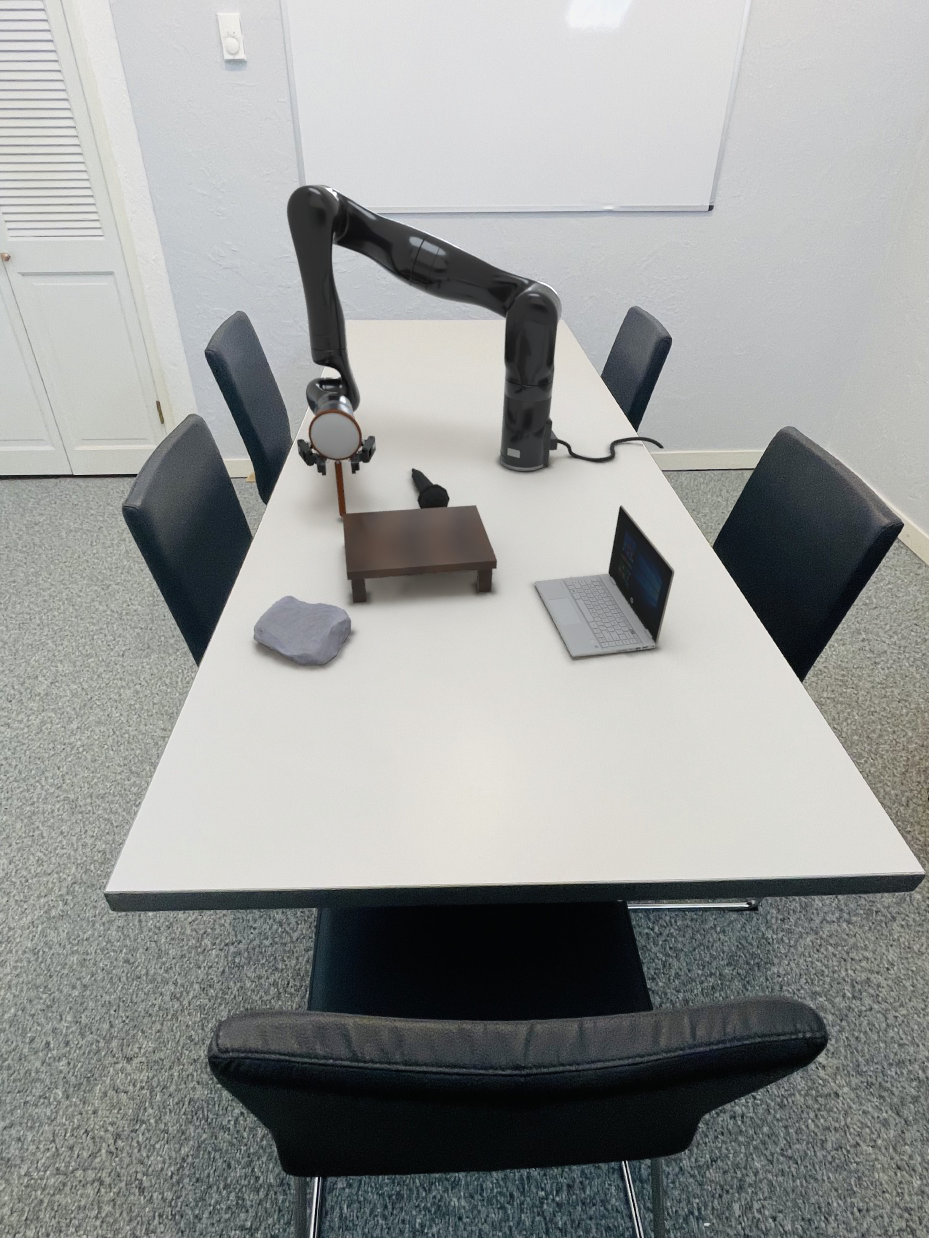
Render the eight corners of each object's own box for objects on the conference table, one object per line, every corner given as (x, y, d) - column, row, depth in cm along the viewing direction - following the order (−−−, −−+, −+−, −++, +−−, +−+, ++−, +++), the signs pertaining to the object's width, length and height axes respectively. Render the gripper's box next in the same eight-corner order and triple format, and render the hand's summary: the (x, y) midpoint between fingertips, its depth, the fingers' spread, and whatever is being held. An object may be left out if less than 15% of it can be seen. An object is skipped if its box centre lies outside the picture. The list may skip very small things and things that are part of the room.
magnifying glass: (318, 521, 124) (304, 411, 112) (319, 516, 126) (306, 407, 114) (367, 523, 124) (359, 412, 112) (368, 518, 126) (360, 408, 114)
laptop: (533, 585, 110) (540, 511, 103) (609, 577, 113) (622, 504, 105) (571, 660, 97) (583, 581, 89) (657, 648, 99) (676, 570, 91)
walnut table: (474, 536, 122) (476, 505, 118) (495, 593, 109) (497, 560, 105) (345, 545, 119) (342, 513, 115) (349, 605, 105) (346, 571, 102)
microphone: (405, 487, 142) (428, 525, 125) (394, 462, 138) (417, 497, 122) (430, 477, 142) (456, 513, 125) (420, 451, 139) (446, 484, 122)
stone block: (326, 680, 95) (357, 626, 101) (318, 657, 91) (351, 602, 97) (249, 661, 98) (284, 610, 104) (238, 639, 94) (275, 587, 101)
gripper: (293, 409, 126) (291, 450, 113) (373, 406, 128) (381, 445, 115) (298, 449, 131) (297, 492, 117) (376, 445, 133) (383, 487, 120)
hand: (338, 469), depth 116 cm, fingers closed on magnifying glass, 4 cm apart
